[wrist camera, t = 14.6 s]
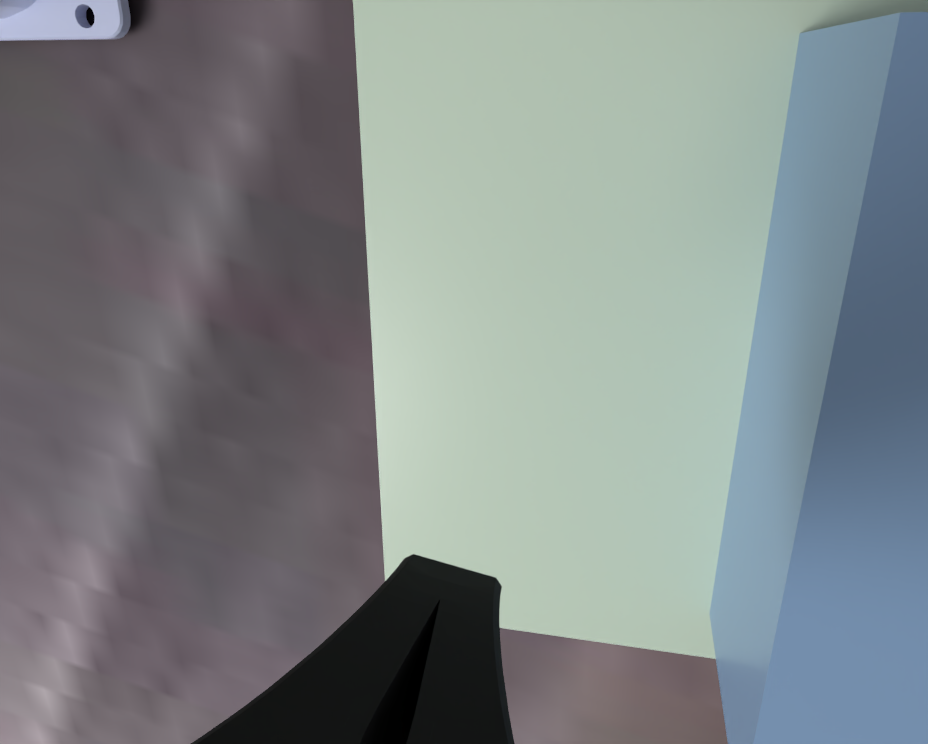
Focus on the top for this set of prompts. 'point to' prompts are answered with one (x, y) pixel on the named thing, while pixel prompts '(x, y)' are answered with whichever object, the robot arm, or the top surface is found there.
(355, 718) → the robot arm
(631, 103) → the board
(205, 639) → the top surface
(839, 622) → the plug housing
